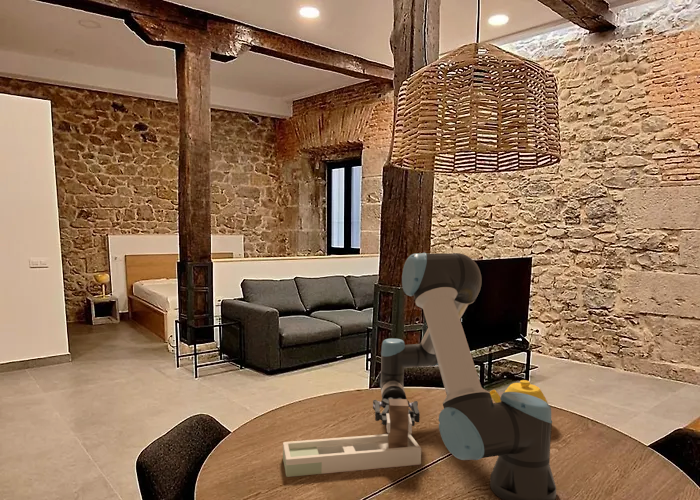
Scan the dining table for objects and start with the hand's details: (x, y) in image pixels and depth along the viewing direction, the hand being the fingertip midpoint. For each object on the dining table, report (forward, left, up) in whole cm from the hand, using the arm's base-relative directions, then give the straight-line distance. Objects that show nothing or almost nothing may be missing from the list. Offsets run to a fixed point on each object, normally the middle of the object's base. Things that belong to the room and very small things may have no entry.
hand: (399, 428), depth 129 cm
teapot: (-41, -32, -11) cm, 53 cm away
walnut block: (0, -5, -7) cm, 9 cm away
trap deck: (+13, -2, -11) cm, 17 cm away
